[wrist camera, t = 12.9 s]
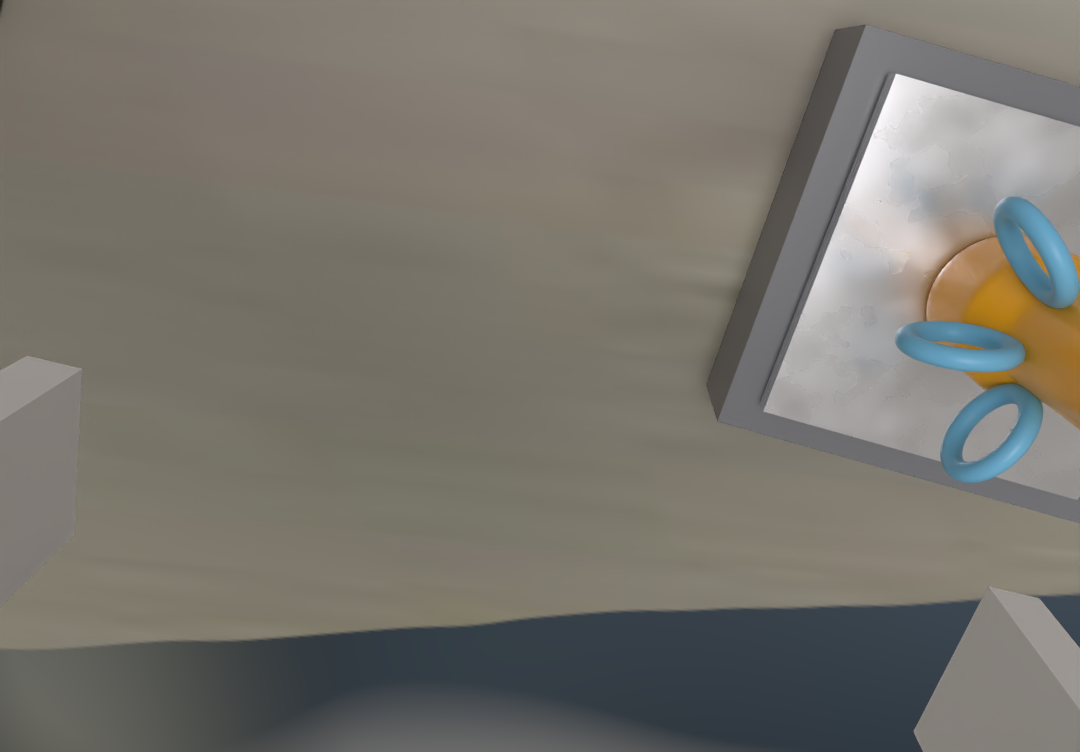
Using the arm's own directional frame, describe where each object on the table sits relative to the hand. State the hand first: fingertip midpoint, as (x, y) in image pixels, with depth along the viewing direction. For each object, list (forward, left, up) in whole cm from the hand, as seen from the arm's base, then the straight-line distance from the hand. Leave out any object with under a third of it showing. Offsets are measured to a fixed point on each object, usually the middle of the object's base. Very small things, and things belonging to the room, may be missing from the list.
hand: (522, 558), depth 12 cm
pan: (+18, +2, -31) cm, 36 cm away
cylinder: (+18, +2, -27) cm, 32 cm away
